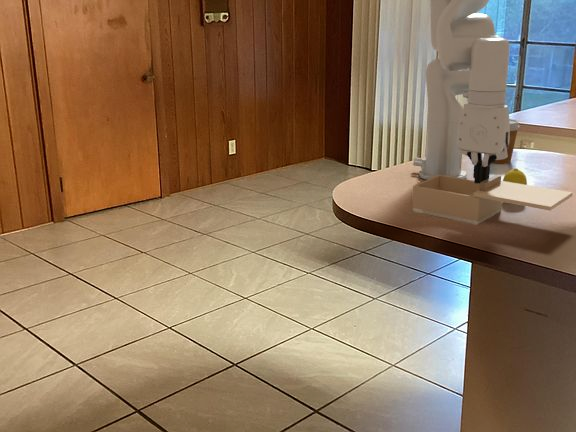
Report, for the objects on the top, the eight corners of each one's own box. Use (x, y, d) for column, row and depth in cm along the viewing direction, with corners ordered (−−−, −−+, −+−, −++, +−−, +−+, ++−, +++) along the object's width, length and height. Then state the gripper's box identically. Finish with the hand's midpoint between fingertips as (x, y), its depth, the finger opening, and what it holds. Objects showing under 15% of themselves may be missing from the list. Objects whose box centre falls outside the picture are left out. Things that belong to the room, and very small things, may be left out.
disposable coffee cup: (514, 158, 197) (518, 118, 193) (517, 166, 188) (521, 124, 184) (481, 157, 199) (484, 117, 195) (483, 165, 190) (486, 123, 186)
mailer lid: (472, 196, 140) (473, 184, 139) (497, 183, 148) (498, 172, 148) (550, 210, 129) (551, 197, 128) (572, 196, 138) (573, 184, 137)
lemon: (525, 198, 158) (528, 166, 155) (525, 205, 153) (528, 172, 151) (501, 196, 160) (503, 164, 157) (500, 203, 155) (503, 170, 152)
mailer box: (411, 210, 151) (412, 185, 149) (437, 198, 159) (439, 174, 158) (477, 224, 141) (479, 198, 139) (500, 211, 149) (503, 185, 147)
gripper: (446, 97, 141) (441, 180, 146) (513, 103, 131) (506, 192, 137) (462, 93, 146) (457, 174, 152) (528, 99, 136) (521, 184, 142)
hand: (480, 182), depth 144 cm, fingers closed
